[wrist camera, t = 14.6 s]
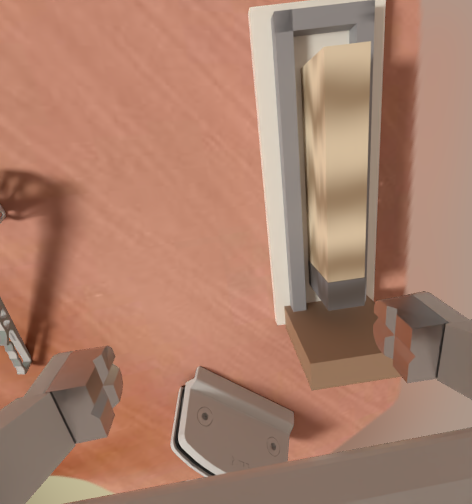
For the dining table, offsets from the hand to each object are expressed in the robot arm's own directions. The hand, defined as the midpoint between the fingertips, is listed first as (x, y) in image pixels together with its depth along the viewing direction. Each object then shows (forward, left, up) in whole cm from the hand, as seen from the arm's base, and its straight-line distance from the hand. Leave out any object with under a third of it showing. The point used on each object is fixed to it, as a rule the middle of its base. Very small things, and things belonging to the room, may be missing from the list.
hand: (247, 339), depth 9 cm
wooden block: (-1, +11, -23) cm, 25 cm away
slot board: (-1, +11, -24) cm, 26 cm away
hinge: (+29, -2, -24) cm, 38 cm away
